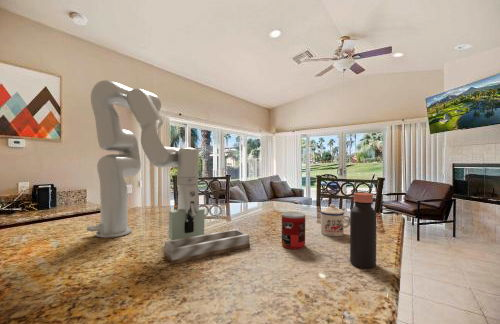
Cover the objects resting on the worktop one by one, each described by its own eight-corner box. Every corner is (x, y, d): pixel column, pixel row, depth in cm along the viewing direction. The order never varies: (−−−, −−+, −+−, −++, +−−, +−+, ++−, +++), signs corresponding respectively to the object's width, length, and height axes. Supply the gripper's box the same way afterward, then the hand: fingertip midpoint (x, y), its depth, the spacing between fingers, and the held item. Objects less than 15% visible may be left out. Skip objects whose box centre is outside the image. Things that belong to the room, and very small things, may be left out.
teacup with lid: (323, 236, 96) (323, 206, 95) (317, 230, 105) (318, 202, 105) (355, 237, 95) (355, 206, 95) (346, 230, 104) (347, 202, 104)
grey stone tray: (173, 264, 71) (173, 250, 70) (164, 253, 78) (164, 241, 78) (249, 246, 85) (250, 234, 85) (236, 239, 93) (236, 228, 93)
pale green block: (172, 240, 87) (172, 212, 87) (168, 237, 91) (169, 210, 90) (204, 235, 94) (204, 209, 94) (200, 232, 97) (200, 207, 97)
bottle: (374, 271, 66) (375, 196, 66) (347, 265, 70) (348, 194, 70) (377, 262, 72) (377, 193, 72) (352, 257, 76) (352, 191, 75)
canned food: (279, 242, 89) (279, 211, 89) (301, 241, 90) (301, 211, 90) (284, 250, 82) (284, 216, 82) (308, 249, 82) (308, 216, 82)
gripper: (206, 183, 87) (205, 235, 87) (189, 179, 101) (188, 224, 101) (185, 184, 83) (184, 238, 83) (170, 179, 97) (170, 226, 97)
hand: (186, 230), depth 92 cm, fingers closed on pale green block, 4 cm apart
